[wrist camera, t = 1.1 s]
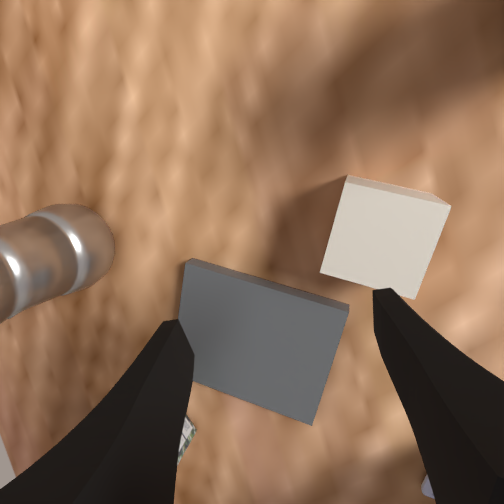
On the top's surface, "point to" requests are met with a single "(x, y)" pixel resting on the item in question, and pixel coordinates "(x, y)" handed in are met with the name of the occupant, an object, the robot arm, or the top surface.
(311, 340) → the slate board
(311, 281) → the top surface
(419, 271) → the cream cube
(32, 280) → the plastic bottle
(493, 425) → the robot arm
